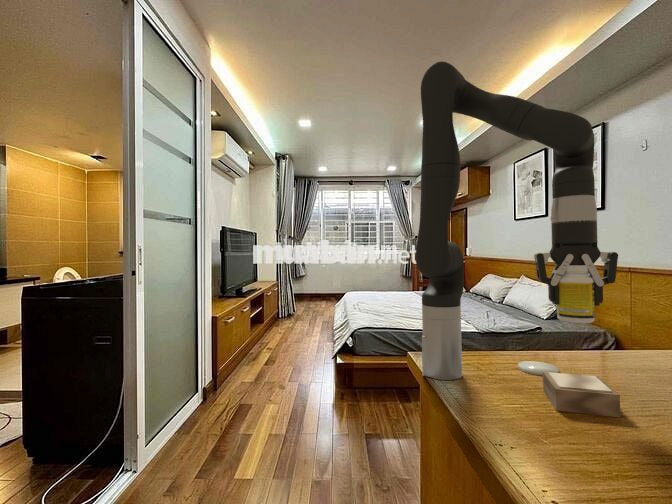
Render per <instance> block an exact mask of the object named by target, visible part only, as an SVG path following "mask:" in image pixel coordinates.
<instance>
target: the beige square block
mask: <svg viewBox="0 0 672 504" xmlns="http://www.w3.org/2000/svg"><path fill="white" fill-rule="evenodd" d="M542 382H543V383H542V385H543V389H542V390H543V392H544V394H545V396H546V397H547V399H548V400H549V401H550V403H551V405H552V406H553V407H554V409H555V410H556V412H557V411H558V412H560V411H561V412H567V413H577V414H584V415H585V414H587V415H595V416H605V417H614V418H621V395H620V393H618V392H617V391H616V390H614V389H613V387H611V386H610V385H609V384H607V383H606V382H605V381H604V380H603V379H602V378H600V377H599V376H597V375H589V374H588V375H587V374H574V373H563V372H562V373H560V372H559V373H551V372H543V376H542Z"/></svg>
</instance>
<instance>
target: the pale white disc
mask: <svg viewBox="0 0 672 504" xmlns="http://www.w3.org/2000/svg"><path fill="white" fill-rule="evenodd" d="M517 369H518V370H519V371H521V372H524V373H527V374H530V375H536V376H542V377H543V372H551V373H560V368H559V367H558V366H555V365H554V364H551V363H548V362H541V361H535V360H534V361H532V360H530V361H529V360H527V361H525V360H524V361H520V362H518V364H517Z"/></svg>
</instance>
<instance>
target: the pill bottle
mask: <svg viewBox="0 0 672 504" xmlns="http://www.w3.org/2000/svg"><path fill="white" fill-rule="evenodd" d="M562 270H563V269H562ZM588 272H589V271H588V268H587V266H586V265H569V266H568V268H567V270H566V271H565V273H564V275H563V276H562V277H561V279H560V280H559V282H558V284H557V286H559V305H556V315H557V316H556V317H557V319H558V320H559V321H561V322H562V321H563V322H566V323H572V324H573V323H576V324H577V323H578V324H591V323H593V322H595V320H596V313H595V312H596V311H595V307H596V306H595V305H594V280H593V279H592V278H591V277H590V276H588V274H587V273H588Z"/></svg>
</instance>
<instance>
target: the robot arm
mask: <svg viewBox="0 0 672 504" xmlns="http://www.w3.org/2000/svg"><path fill="white" fill-rule="evenodd" d="M420 100H421V101H420V102H421V103H420V104H421V114H422V115H421V117H422V141H421V142H422V143H421V145H422V146H421V147H422V148H421V167H420V204H419V205H420V207H419V226H418V233H417V240H416V241H417V242H416V246H415V264H416V268H417V270H418V271H419V272H420V274H421V275H423V276H424V277H426V278H429V279H428V285H427V288H426V289H425V290H424V292H422V295H421V313H422V316H421V317H422V318H421V319H422V335H421V360H422V361H421V364H422V365H421V368H422V376H423V377H429V378H431V379H434V380H435V379H436V380H442V381H452V380H458V379H461V378H462V377H463V354H462V351H463V350H462V349H463V348H462V313H461V312H462V307H461V301H462V300H461V299H462V295H463V292H464V282H465V281H464V280H465V279H464V278H465V277H464V275H465V263H464V261H465V260H464V255H463V252H462V250H461V248H460V246H458V245H457V244H456V243H455V242H453V241H450V240H449V233H448V232H449V230H448V229H449V219H450V215H451V212H452V209H453V206H454V204H455V202H456V199H457V196H458V193H459V189H460V183H461V155H460V149H459V144H458V140H457V137H456V132H455V129H454V118H453V114H458V115H459V114H460V115H463V116H467V117H470V118H474V119H477V120H480V121H481V122H484V123H486V124H488V125H491V126H492V127H495V128H496V129H498V130H501V131H504V132H506V133H508V134H510V135H513V136H515V137H517V138H520V139H521V140H522V139H523V140H525V141H526V140H527V141H534V142H537V143H539V144H541V145H544V146H546V147H548V148H550V149H552V150H553V155H554V174H553V175H552V180H551V181H552V182H551V189H552V190H551V191H552V193H551V194H552V195H551V196H552V197H551V198H552V201H551V207H550V208H551V213H550V215H551V216H550V221H551V223H550V224H551V225H550V226H551V249H550V250H549V252H543V253H542V252H535V253H534V254H533V255H534V256H533V258H534V264H535V271H536V276H537V281H538V282H541V283H544V284H546V285H547V287H548V288H547V289H548V291H547V292H548V300H549V302H551V304H553V305H554V306H557V305H559V286H557V284H558V282H559V280H560V279H561V277H562V276H563V275H564V273H565V271H566V270H567V268H568V266H569V265H586V266H587V268H588V271H589V272H588V273H587V274H588V276H590V277H591V278H592V279H593V280H594V305H595V307H599V306H600V305H601V304H602V303H603V301H604V286H606V285H610V284H614V283H615V282H616V275H617V270H618V269H617V268H618V261H619V254H618V252H616V251H608V252H607V251H601V250H600V249H599V247H598V209H597V202H596V195H595V194H596V192H595V191H596V189H595V187H596V185H595V174H594V160H595V159H594V158H595V134H594V129H593V126H592V124H591V122H590V121H589V120H588V119H587V118H585V117H583V116H580V115H578V114H576V113H572V112H569V111H565V110H559V109H556V108H555V109H554V108H547V107H544V106H542V105H540V104H538V103H534V102H531V101H529V100H527V99H524V98H520V97H518V96H512V95H507V94H500V93H499V94H498V93H493V92H489V91H486V90H485V89H481V88H479V87H477V86H476V85H474V84H473V83H471V82H469V81H468V80H466V78H465V77H464V76H463V74H462V73H461V72H460V71H459V70H458V69H457V68H456V67H455V66H454V65H453V64H451V63H449V62H446V61H440V60H439V61H436V62H434V63H432V64H431V65H430V66H429V67H427V69H426V71H425V72H424V75H423V76H422V79H421V82H420ZM549 258H550V259H551V260H552V262H554V263H555V266H554V268H553V270H552V272H551V275H550V276H549V277H548V274H547V270H546V269H547V268H546V264H547V263H548V262H549ZM599 259H601V262H602V263H603V272H602V277H601V275H600V272H599V271H598V269H597V268H596V266H595V263H596V262H597V261H598V260H599ZM562 269H563V270H562Z"/></svg>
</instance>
